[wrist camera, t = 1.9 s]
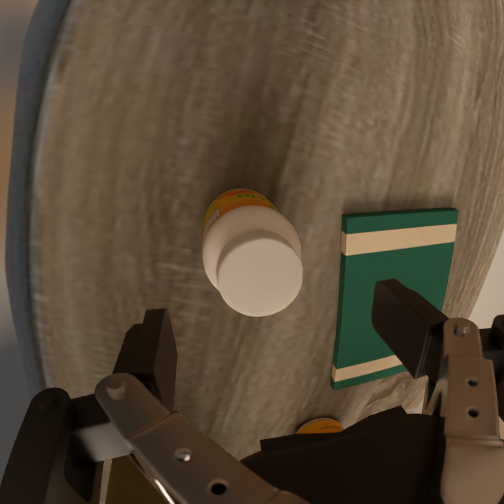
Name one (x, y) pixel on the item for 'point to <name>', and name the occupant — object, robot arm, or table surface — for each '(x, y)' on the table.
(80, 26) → the table surface
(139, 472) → the canister
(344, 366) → the towel
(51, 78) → the table surface
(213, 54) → the table surface
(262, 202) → the supplement bottle
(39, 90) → the table surface
